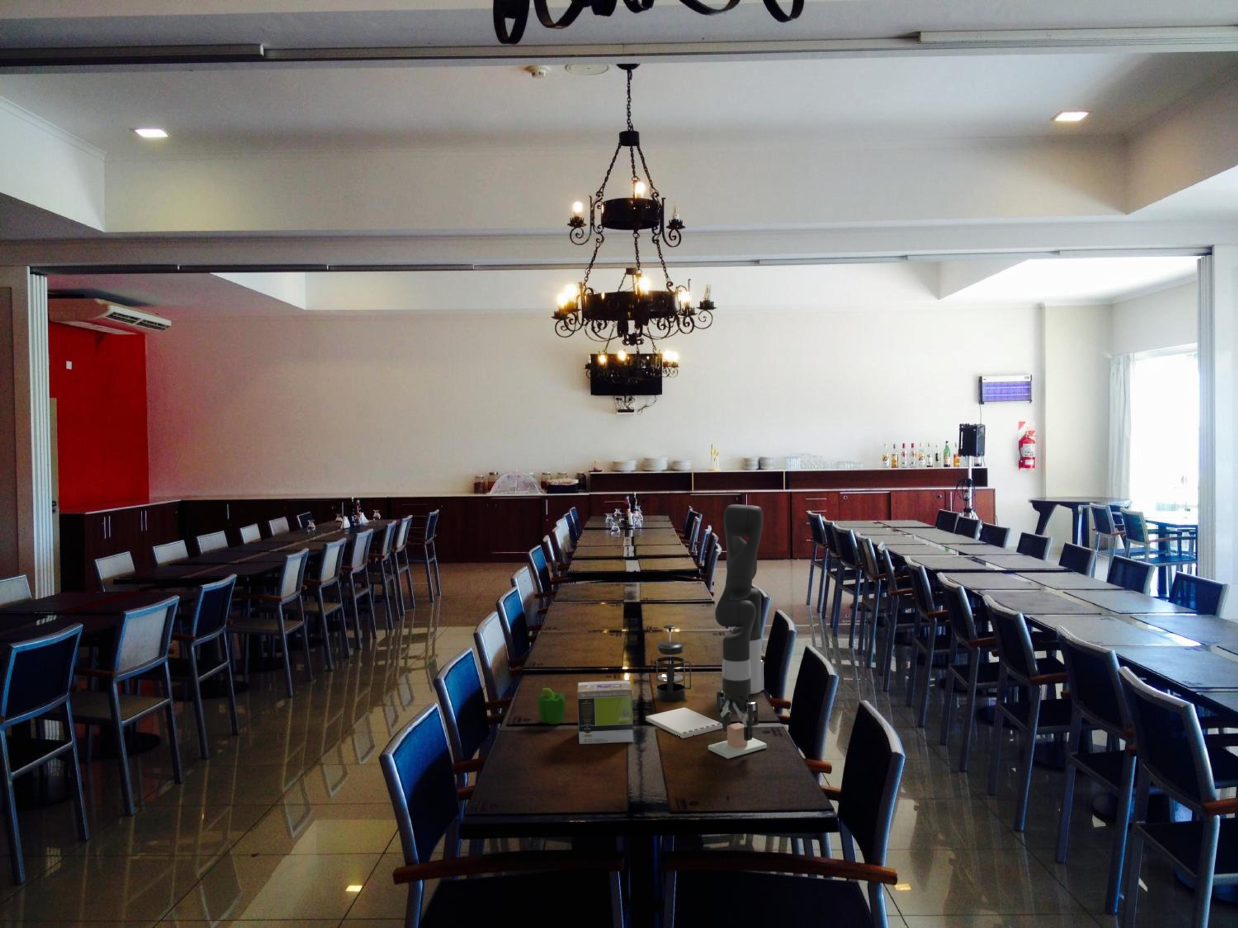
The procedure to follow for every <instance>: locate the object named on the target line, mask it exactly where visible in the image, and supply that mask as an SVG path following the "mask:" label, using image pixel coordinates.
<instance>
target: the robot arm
mask: <svg viewBox="0 0 1238 928" xmlns="http://www.w3.org/2000/svg"><path fill="white" fill-rule="evenodd" d="M763 525H764V513H763V510H762V507H761V506H757V505H749V504H748V505H747V504H736V503H735V504H729V505H727V506H726V507H725V510H724V513H723V528H724V535H725V536H724V537H725V541H726V542H725V544H726V555H725V557H726V559H725V560H726V561H725V562H726V578H725V585H724V589H723V592H722V594H721V596H720V598H719V599H718V602H717V605H716V607H715V611H714V613H715V614H714V617H715V620H716V623H717V624H718V625H720V626H721V627H729V628H732V632H731V634H728V635H726V636H724V637H723V639H722V664H721V665H722V666H721V678H722V679H721V681H722V686H721V687H722V689H721V690H720V691H717V692H716V713H717V714H720V717H721V718H722V719H721V721H722V722H721V724H722V726H723V728H722V731H723V732H725V733H727V726H728V725H732V716H731V715H732V714H735V715H737V716H738V718H739V720H741V721H742V722H741V723H742V724H743V725H744V726H745V727H744V740H745V741H749V740H751V739H752V738H754V736H753V735H754V734H753V731H754V730H753V727H756V726H758V725H759V724H760V723H759V708H758V705H759V704H758V702H756V701H754V702H752V701H751V702H750V700H749V696H750V695H752V694H753V695H754V694H759V693H760V692H762V691H763V690H764V689H765V686H764V685H765V677H764V676H765V675H764V672H765V671H764V665H765V664H764V663H765V662H764V660H762V635H761V634H762V633H761V632H762V630H761V628H762V627H761V621H762V619H761V618H762V613H761V612H762V594H761V591H760V589H758V588H757V587H756V588H754V587H753V579H754V578H755V576H757V575H756V574H757V573H758V572H757V571H758V560H757V559H758V557H757V555H758V551H759V546H760V543H761V538H762V537H761V536H762V533H763ZM743 538H748V540H747V541H746V540H745V539H743Z"/></svg>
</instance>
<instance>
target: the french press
mask: <svg viewBox="0 0 1238 928" xmlns="http://www.w3.org/2000/svg"><path fill="white" fill-rule="evenodd" d="M663 629H668V633H669V641H661V642H658V643H656V644H655V646H656V648H657V649H658V651H659V653H660V654H661V655H665V656H662V657H659V658H658V657H657V658H656V662H655V663H656V665H655V666H656V669H655V670H656V696H655V698H656V699H657V700H658V701H660V702H663V703H664V702H665V703H678V702H682V701H684V700H685V699H686V697H687V696H686V690H692V664H691V663H692V661H691V660H685V658H683V657H680V656H675V655H681V654H682V653H684V647H685V644H684V643H682V642H679V641H671V639H672V637H671V633H672V629H677V626H676V625H675V624H673V625H672V624H666V625H664V626H663ZM666 655H667V656H666ZM665 662H668V663H665ZM675 662H676V663H675ZM677 662H678V663H677ZM686 664H689V686H686V676H685V675H686V671H685V669H686V667H685V665H686ZM658 667H659V668H664V669H666V673H665V674H661V675H658V674H659V673H658V672H659V670H658ZM682 667H683V675H681V674H678V673H675V669H676V668H682ZM658 681H659V682H661V684H659V683H658ZM681 682H683V684H681Z"/></svg>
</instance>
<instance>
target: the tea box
mask: <svg viewBox="0 0 1238 928" xmlns="http://www.w3.org/2000/svg"><path fill="white" fill-rule="evenodd" d="M632 693H633V692H632V686H631V680H630V679H623V680H602V681H601V680H600V681H582V682H581V681H580V682H578V683H577V719H578V723H577V724H578V725H577V726H578V743H579V744H580V745H585V744H586V745H589V744H591V745H592V744H608V743H609V744H610V743H611V744H612V743H634V720H633V719H634V718H633V717H634V715H633V694H632Z"/></svg>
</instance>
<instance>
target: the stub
mask: <svg viewBox="0 0 1238 928" xmlns="http://www.w3.org/2000/svg"><path fill="white" fill-rule="evenodd" d="M744 727H745V726H744V724H743V723H740V722H737V723H733V724H732V723H731V725H728V726H727V732H726V733H727V737H726V738H727V739H726V740H723V741H720V742H716V743H712V744H709V745H707V749H708V751H711V752H713V753H715V754H717V755H720V756H722V757H724V758H726V759H731V758H734V757H739V756H741V755H745V754H749V753H752V752H756V751H759V750H763V749H767V748H768V744H767V743H766V742H764V741H761V740H759V739H756V738H754V737H752V739H751V740H749V741H745V740H744Z"/></svg>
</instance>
